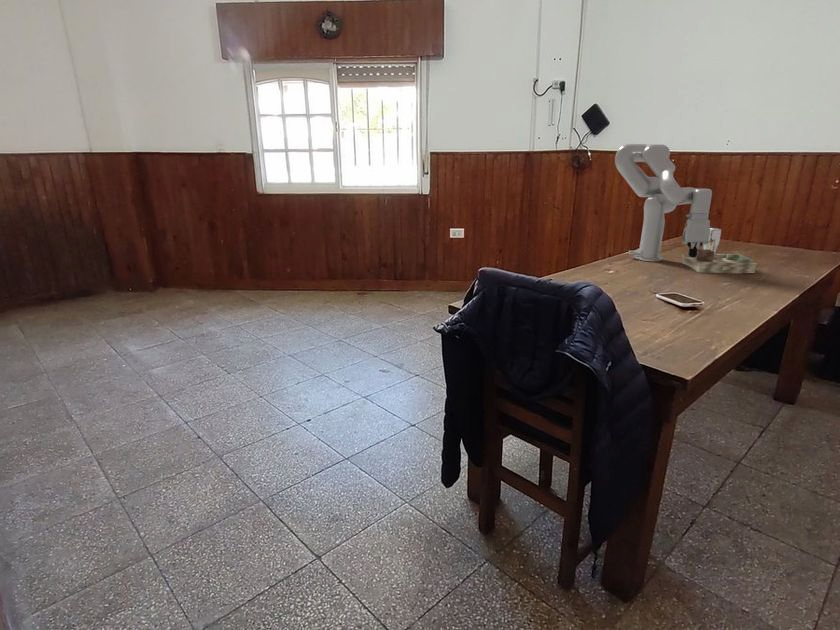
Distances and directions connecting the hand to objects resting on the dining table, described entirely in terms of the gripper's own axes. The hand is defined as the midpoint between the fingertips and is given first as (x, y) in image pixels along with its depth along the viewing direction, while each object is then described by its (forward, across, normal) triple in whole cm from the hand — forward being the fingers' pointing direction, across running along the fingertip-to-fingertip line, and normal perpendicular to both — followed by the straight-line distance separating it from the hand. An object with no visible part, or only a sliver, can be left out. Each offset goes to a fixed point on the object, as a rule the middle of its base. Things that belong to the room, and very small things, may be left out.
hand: (692, 256), depth 233 cm
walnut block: (+2, +6, +1) cm, 6 cm away
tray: (+5, +12, +1) cm, 13 cm away
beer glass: (+5, +16, +20) cm, 26 cm away
